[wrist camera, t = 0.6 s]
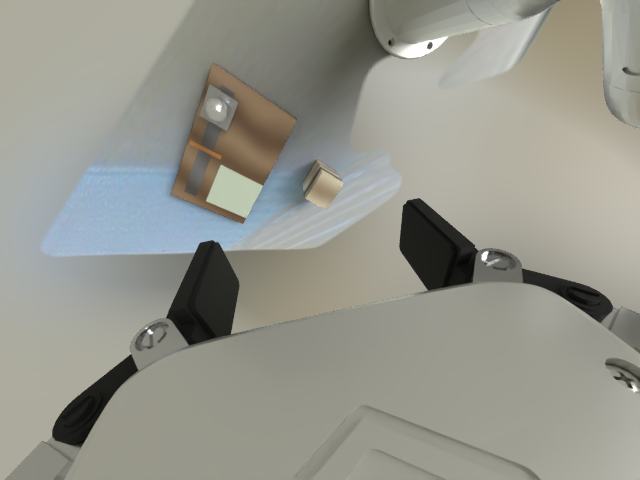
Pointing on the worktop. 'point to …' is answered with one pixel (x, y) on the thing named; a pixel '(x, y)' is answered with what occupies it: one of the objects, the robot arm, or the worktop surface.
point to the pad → (233, 192)
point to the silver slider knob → (219, 107)
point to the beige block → (321, 185)
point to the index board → (232, 143)
